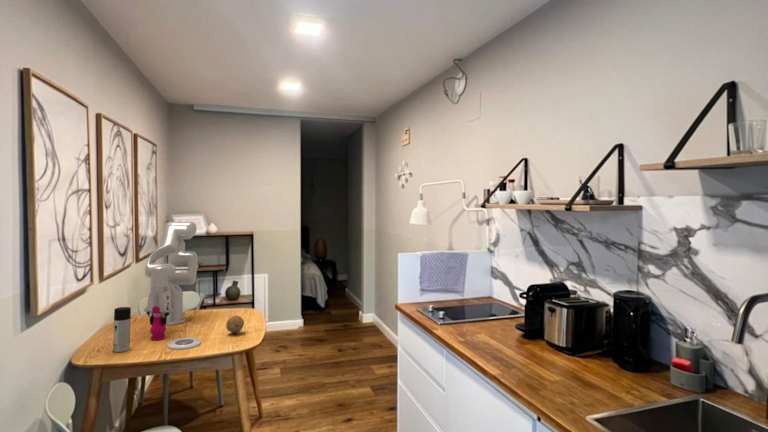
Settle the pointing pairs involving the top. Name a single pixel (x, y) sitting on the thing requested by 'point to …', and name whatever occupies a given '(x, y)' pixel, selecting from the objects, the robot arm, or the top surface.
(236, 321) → the natural sponge
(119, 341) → the spray can
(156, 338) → the pepper mill
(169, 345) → the mount plate
